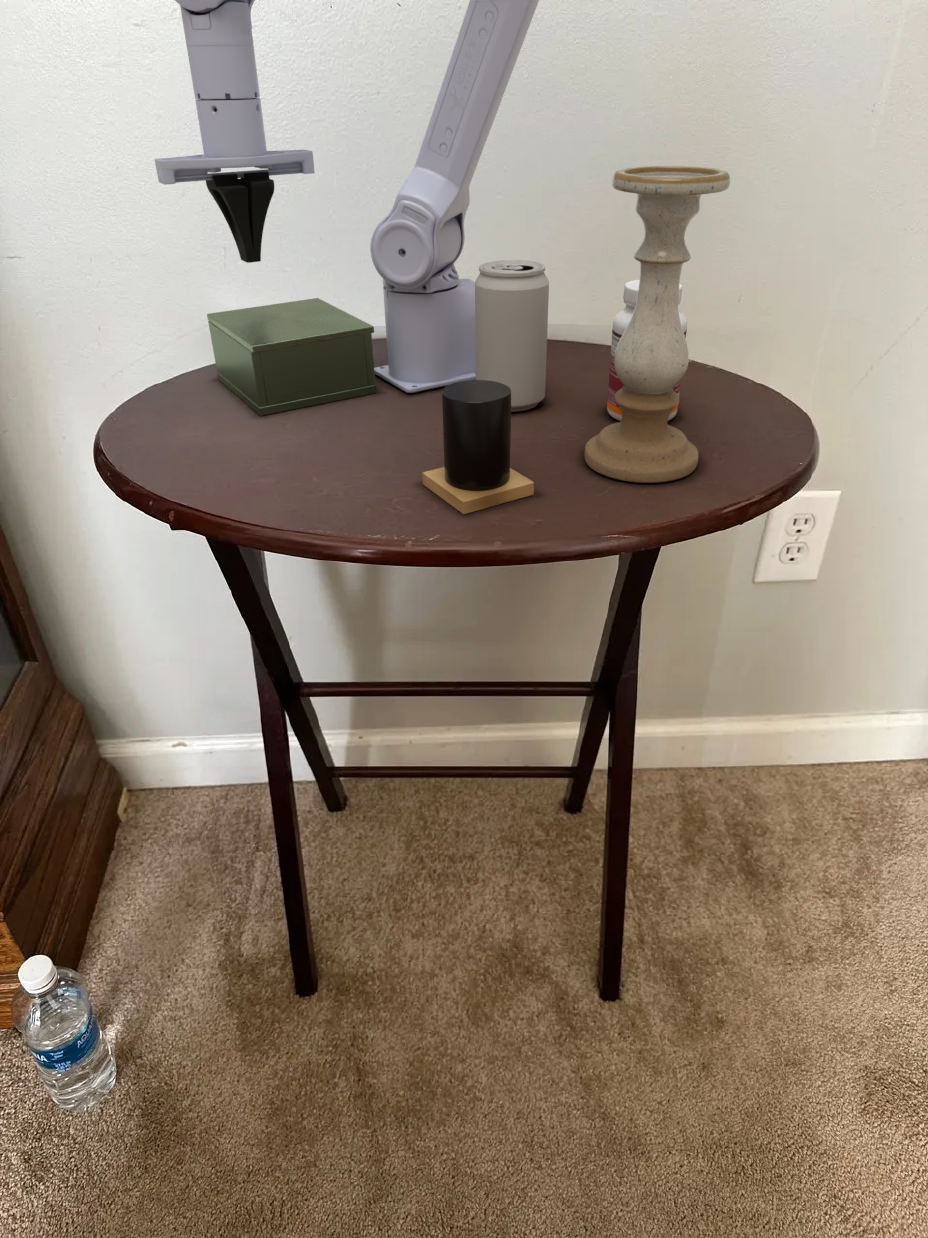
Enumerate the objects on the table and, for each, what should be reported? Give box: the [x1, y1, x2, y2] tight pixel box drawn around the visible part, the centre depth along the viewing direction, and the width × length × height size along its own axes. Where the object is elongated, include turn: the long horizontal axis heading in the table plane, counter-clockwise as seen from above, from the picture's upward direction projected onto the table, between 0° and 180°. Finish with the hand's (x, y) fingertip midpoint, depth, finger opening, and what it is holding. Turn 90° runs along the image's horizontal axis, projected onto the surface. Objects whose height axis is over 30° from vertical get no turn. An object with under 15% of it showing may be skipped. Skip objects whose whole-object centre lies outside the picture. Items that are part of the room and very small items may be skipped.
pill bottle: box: [606, 279, 688, 422], centre depth 72 cm, size 6×6×11 cm
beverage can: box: [474, 259, 550, 413], centre depth 75 cm, size 6×6×12 cm
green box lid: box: [206, 297, 375, 353], centre depth 80 cm, size 13×12×1 cm
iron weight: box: [441, 380, 512, 491], centre depth 60 cm, size 5×5×6 cm
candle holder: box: [583, 165, 731, 484], centre depth 61 cm, size 9×9×20 cm
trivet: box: [421, 466, 535, 515], centre depth 62 cm, size 6×6×1 cm
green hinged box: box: [207, 320, 377, 417], centre depth 82 cm, size 13×12×6 cm
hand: (250, 260), depth 83 cm, fingers closed
